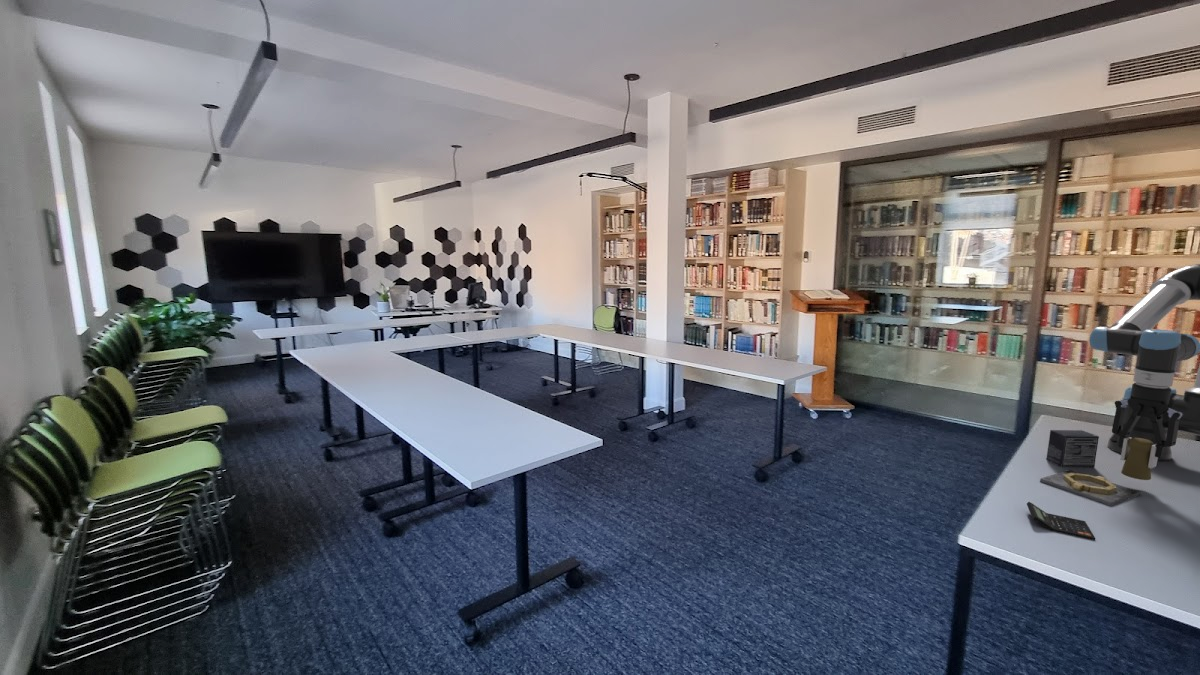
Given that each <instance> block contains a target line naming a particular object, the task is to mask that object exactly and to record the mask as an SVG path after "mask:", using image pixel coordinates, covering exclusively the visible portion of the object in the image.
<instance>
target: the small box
mask: <svg viewBox="0 0 1200 675" xmlns="http://www.w3.org/2000/svg"><path fill="white" fill-rule="evenodd" d="M1099 439H1100V436H1099V435H1096V434H1093V433H1091V432H1088V431H1084V430H1081V429H1080V430H1079V429H1078V430H1075V429H1072V430H1068V429H1058V430H1057V429H1050V432H1049V438H1048V445H1047V451H1046V458H1045V460H1046V461H1048V462H1051V463H1052V464H1055V465H1056V466H1058V467H1060V468H1095V466H1096V458H1097V451H1098V445H1099Z"/></svg>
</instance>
